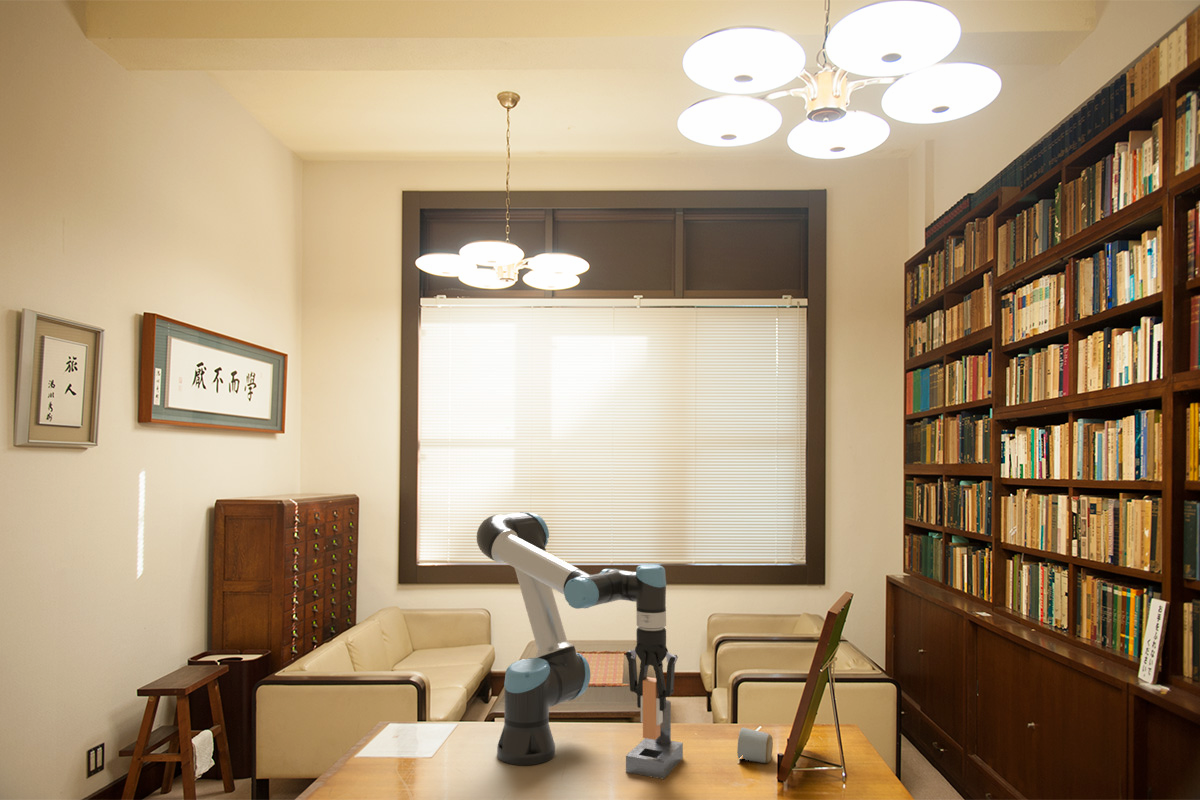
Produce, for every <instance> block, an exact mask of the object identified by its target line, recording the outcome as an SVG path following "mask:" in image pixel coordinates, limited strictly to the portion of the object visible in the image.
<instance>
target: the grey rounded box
mask: <svg viewBox="0 0 1200 800" xmlns="http://www.w3.org/2000/svg"><path fill="white" fill-rule="evenodd" d="M738 733H739V734H738V738H737V751H736V752H737V753H736V754H737V758H738V759H739V758H740V757H741V756H742V755H743V758H744V759H745V760H744V761H748V760H749V762H756V763H762V764H766V763H769V762H771V760H772V756H773V747H774V746H773V745H774V743H773V737H772V735H771V734H769V733H767V732H765V731H759V730H754V729H751V728H747V727H741V728H740V730H739V732H738Z"/></svg>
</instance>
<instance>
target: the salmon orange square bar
mask: <svg viewBox="0 0 1200 800" xmlns="http://www.w3.org/2000/svg"><path fill="white" fill-rule="evenodd" d="M658 696H659V694H658V688H657V681H656V677H650V676H647V678H646V679H644V680H643V723H642V739H645V738H647V739H653V740H656V739H657V738H658V737H659V736H660V725H656V698H657V697H658Z"/></svg>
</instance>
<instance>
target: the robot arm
mask: <svg viewBox="0 0 1200 800" xmlns="http://www.w3.org/2000/svg"><path fill="white" fill-rule="evenodd" d="M549 538H550V531H549V528H548V525H547V523H546V521H545V520H544V519H543V518H542V516H540V515H538V514H537V513H533V512H526V511H520V512H516V513H515V512H514V513H506V514H505V513H503V514H493V515H491V516H489V517H487V518H486V519H484V520H482V522H481V523H480V525H479V526H478V528H477V532H476V543H477V546H478V548H479V550H480V551H481V553H482V554H483V555H485V556H486V557H487V558H489V559H491V560H492V561H494V562H496V563H498V564H504V563H506V564H508V565H509V566H510V567H513V569H514V571H515V573H516V574H515V575H516V577H517V580H518V585H519V588H520V593H521V595H522V599H523V602H524V603H523V604H524V606H525V610H526V613H527V616H528V620H529V621H528V622H529V623H530V624H529V625H530V628H531V630H532V634H533V637H534V642H535V645H536V648H537V651H536V654H535V656H534V657H531V658H530V657H529V658H527V659H526V658H523V659H519V660H516V661H515V662H512V663H511V664H509V666H508V667H507V668H506V670H505V676H504V682H503V683H504V684H503V686H504V687H503V688H504V721H503V724H504V725H503V728H502V731H501V733H500V736H499V740H498V743H497V746H496V747H497V748H496V749H497V750H496V751H497V752H496V756H497V759H499V760H500V761H502V762H504V763H506V764H509V765H515V766H533V765H539V764H542V763H543V764H544V763H546V762H548V761H550V760H551V759H553V758H554V757H555V755H556V743H555V741H554V737H553V733H552V730H551V727H550V726H551V725H550V723H549V722H550V721H549V719H550V717H549V715H550V714H549V713H550V708H551V707H554V706H557V705H559V704H562V703H565V702H567V701H571V700H575V699H576V698H578V697H580V696H581V695H583V694H584V693H585V692H586V691H587V689H588V687H589V684H590V682H591V681H590V680H591V668H590V667H591V666H590V665H589V662H588V660H587V658H586V657H584V656H583V654H582V653H579V652H577V651H576V646H575V645H574V643H571V642H569V641H568V640H567V636H566V632H565V629H564V625H563V622H562V619H561V615H560V613H559V609H558V606H557V602H556V598H555V596H554V592H553V590H555V591H557V592H558V593H560V594H563V596H564V598H565V601H566V602H567V603H568V605H569V606H570V607H571V608H573V609H576V610H577V609H578V610H579V609H589V608H591V607H594V606H598V605H603V604H607V603H612V602H615V601H627V602H635V604H636V605H635V607H636V626H637V628H636V646H635V647H634V648H633V649H629V650H628V651H626V652H625V657H626V659H627V662H628V663H627V664H628V680H629V691H630V693H631V692H632V693H635V694H636V697H637V699H636V700H637V701H636V702H637V703H636V705H637V708H639V709H640V723H642V724H643V680H644V679H646V678H647V677H648V671H649V667H650V666H652V667H653V671H654V675H655V678H656V681H657V688H658V694H659V696H658V697H657V698H656V725H660V724H661V723H662V722H663V711H664V710H665V709H666V700H667V697H670V696H671V695H673V694H674V689H675V686H674V685H675V671H676V670H675V668H676V663H677V661H678V657H679V656H678V655H677V654H672V653H670V652H669V650H668V648H667V629H666V628H665V627H666V626H667V607H666V603H667V602H666V598H667V597H666V596H667V595H666V594H667V579H666V578H667V576H666V568H665V567H664V566H662V565H659V564H641V565H640V564H639V565H637V567H636V570H635V571H630V570H626V569H625V570H624V569H618V568H604V569H602V570H601V571H600V572H599V573H595V574H590V573H588V572H586V571H584V570H582V569H580V568H578V567H576V566H574V565H572V564H571V563H568V562H567V561H566V560H562V559H561V558H559V557H557V556H556V555H553V554H552V553H550V552H547V549H546V547H547V545H548V543H549ZM637 657H638V658H639V660H640V664H639V668H640V669H639V674H638V669H637V668H638V667H637V666H638V665H637ZM665 658H666V663H667V666H666V682H665V675H664V668H663V667H664V663H663V661H664V659H665ZM638 675H639V676H638Z"/></svg>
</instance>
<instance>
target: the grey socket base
mask: <svg viewBox="0 0 1200 800" xmlns="http://www.w3.org/2000/svg"><path fill="white" fill-rule="evenodd" d="M671 707H672V702H671V701H670V700H668V699H666V709H665V710H664V711H663V722H662V723H661V724H660V736H659V737H658V738H657V739H656V740H653V739H647V738H643V739H642V740H641V741H640V742H639V743H638V744H637V745H636V746H634V748H633V749H632V750H631V751H629V752H628V753H627V754H626V755H625V773H628V774H633V775H638V774H640V775H639V776H643V775H645V777H648V776H652V777H651V778H653V777H658V778H657V779H659V778H663V779H662V780H665V779H666V778H667V777H666V776H668V775H670V773H671V772H672V771H673V770H674V769H675V768H674V767H675V766H678V764H680V762H682V760H683V759H684V757H683V754H684V753H683V752H684V749H683V748H684V747H683V746H684V744H683V743H684V742H680V741H674V740H672V739H671V738H672V733H671V732H672V731H671V729H672V728H671V727H672V723H671V719H672V713H671V712H672V708H671ZM682 758H683V759H682ZM681 759H682V760H681ZM673 768H674V769H673ZM672 769H673V770H672ZM671 770H672V771H671ZM665 777H666V778H665ZM664 778H665V779H664Z"/></svg>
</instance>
